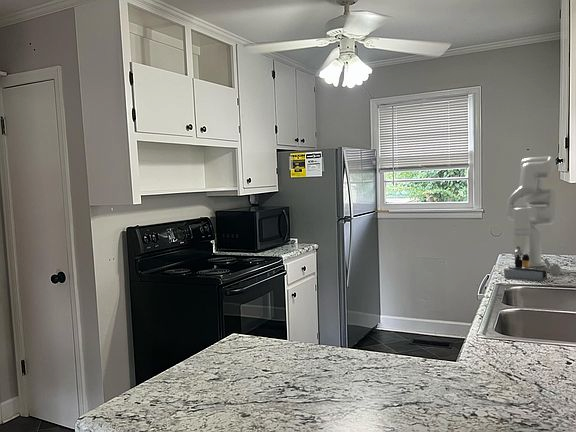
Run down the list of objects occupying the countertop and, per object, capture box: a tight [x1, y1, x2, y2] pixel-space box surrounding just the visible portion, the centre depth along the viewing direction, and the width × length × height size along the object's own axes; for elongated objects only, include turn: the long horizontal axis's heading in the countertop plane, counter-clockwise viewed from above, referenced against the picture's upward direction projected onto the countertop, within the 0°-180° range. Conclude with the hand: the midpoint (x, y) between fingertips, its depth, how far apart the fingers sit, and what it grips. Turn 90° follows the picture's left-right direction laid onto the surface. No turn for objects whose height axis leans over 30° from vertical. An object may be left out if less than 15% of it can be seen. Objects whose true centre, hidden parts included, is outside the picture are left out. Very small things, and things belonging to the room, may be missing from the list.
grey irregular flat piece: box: [543, 257, 561, 276], centre depth 236 cm, size 7×2×8 cm, turn 55°
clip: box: [516, 259, 530, 269], centre depth 244 cm, size 2×6×6 cm, turn 45°
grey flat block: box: [503, 266, 548, 282], centre depth 232 cm, size 7×17×4 cm, turn 45°
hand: (522, 265), depth 244 cm, fingers open, 9 cm apart
